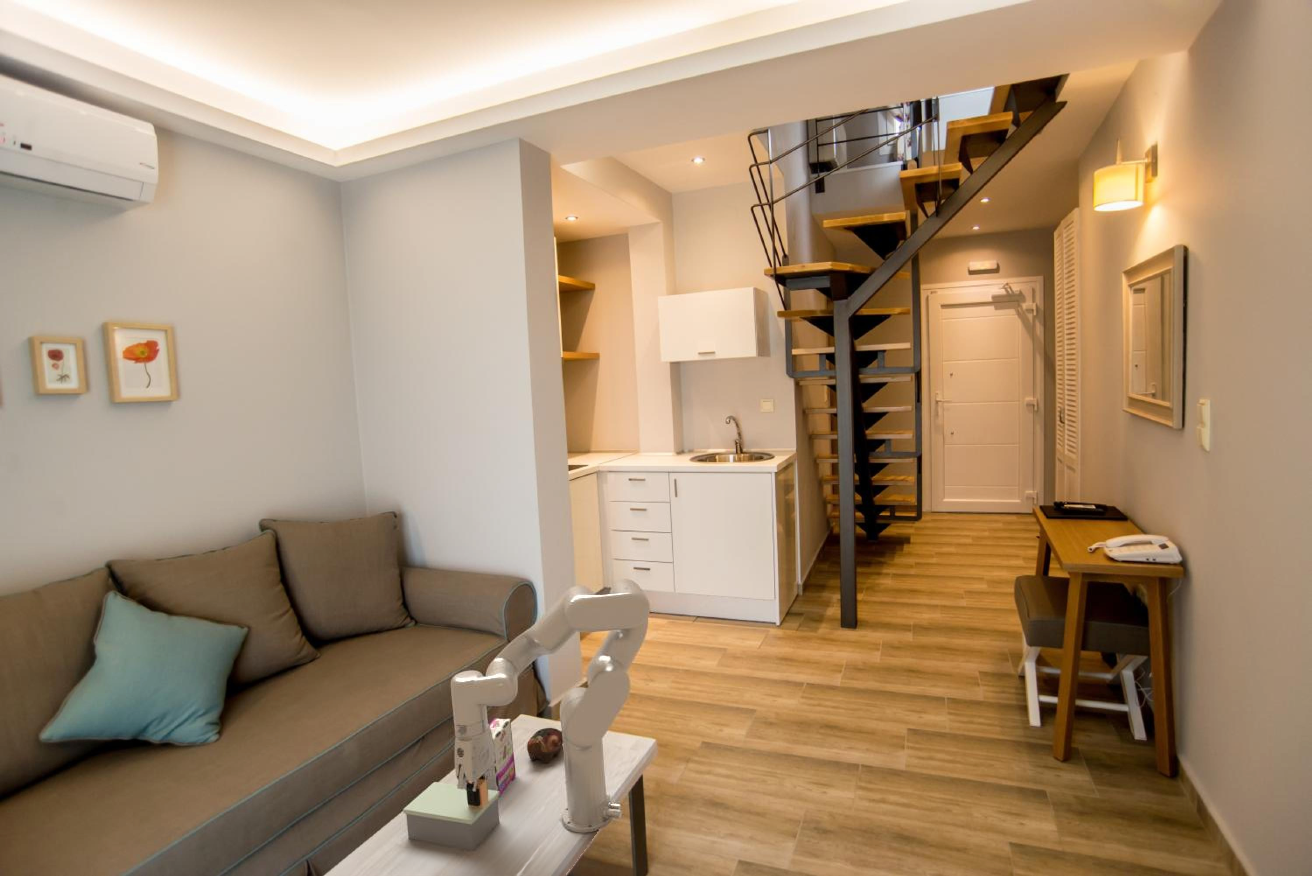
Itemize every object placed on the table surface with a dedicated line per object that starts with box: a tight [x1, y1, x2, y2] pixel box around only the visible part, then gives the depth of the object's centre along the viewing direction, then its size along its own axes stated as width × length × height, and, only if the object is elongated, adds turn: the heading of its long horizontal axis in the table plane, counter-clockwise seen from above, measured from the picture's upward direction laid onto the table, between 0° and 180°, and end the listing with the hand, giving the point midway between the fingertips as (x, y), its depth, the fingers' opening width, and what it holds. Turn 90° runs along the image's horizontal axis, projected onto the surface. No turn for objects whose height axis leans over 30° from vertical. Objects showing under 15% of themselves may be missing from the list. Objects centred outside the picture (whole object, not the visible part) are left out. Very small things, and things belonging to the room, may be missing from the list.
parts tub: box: [405, 798, 500, 852], centre depth 165 cm, size 18×11×7 cm, turn 70°
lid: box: [402, 779, 501, 825], centre depth 165 cm, size 19×12×6 cm, turn 70°
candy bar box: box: [487, 717, 517, 798], centre depth 183 cm, size 11×5×16 cm, turn 168°
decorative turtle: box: [526, 727, 563, 764], centre depth 198 cm, size 10×15×8 cm, turn 157°
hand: (478, 800), depth 162 cm, fingers closed on lid, 2 cm apart
